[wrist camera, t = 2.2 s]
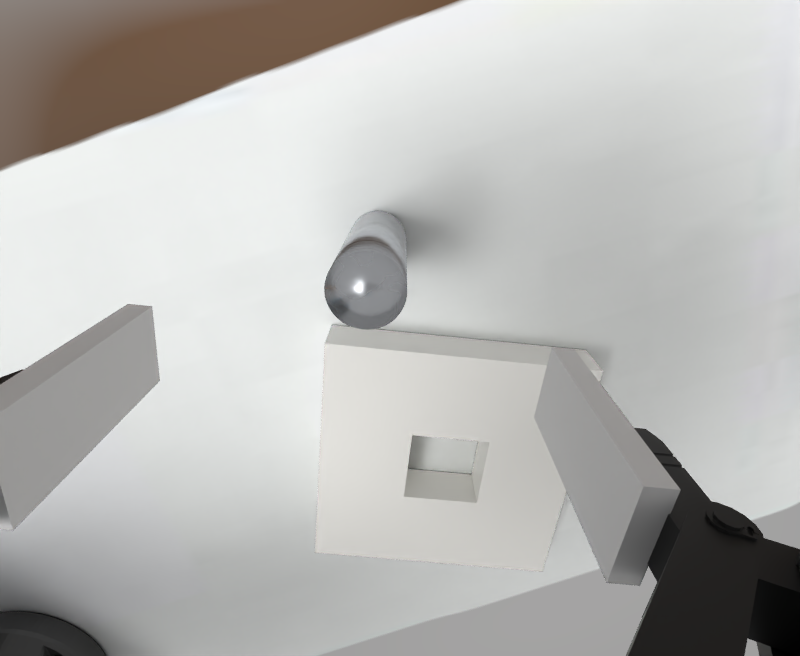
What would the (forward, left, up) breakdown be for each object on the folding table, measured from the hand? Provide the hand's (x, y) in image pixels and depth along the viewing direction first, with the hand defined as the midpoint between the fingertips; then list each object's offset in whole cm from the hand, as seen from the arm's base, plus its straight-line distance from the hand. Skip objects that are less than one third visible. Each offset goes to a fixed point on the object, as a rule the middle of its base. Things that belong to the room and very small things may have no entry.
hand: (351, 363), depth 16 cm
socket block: (+7, -17, -20) cm, 27 cm away
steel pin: (0, 0, -20) cm, 20 cm away
